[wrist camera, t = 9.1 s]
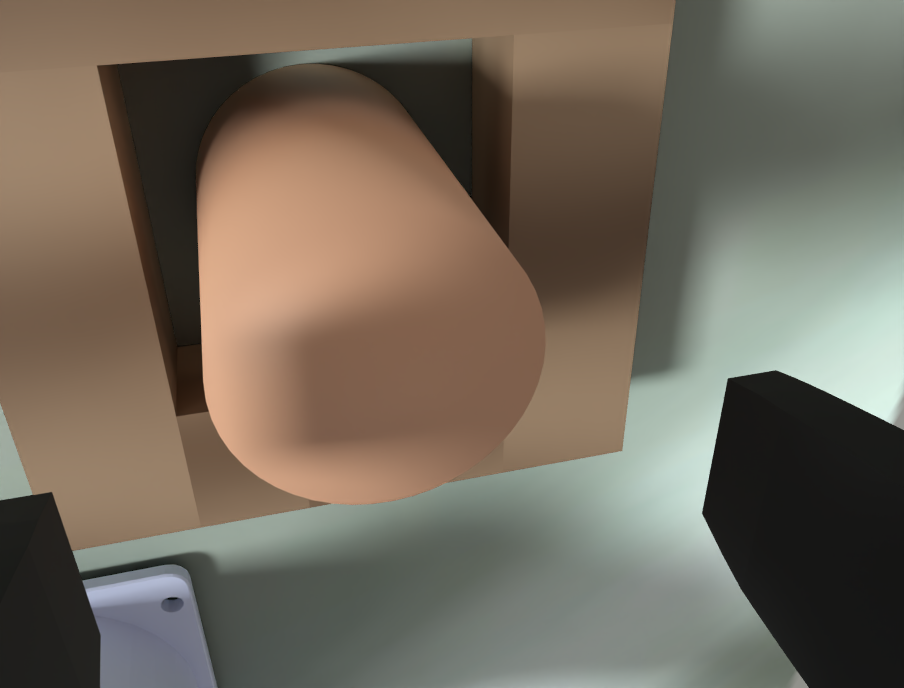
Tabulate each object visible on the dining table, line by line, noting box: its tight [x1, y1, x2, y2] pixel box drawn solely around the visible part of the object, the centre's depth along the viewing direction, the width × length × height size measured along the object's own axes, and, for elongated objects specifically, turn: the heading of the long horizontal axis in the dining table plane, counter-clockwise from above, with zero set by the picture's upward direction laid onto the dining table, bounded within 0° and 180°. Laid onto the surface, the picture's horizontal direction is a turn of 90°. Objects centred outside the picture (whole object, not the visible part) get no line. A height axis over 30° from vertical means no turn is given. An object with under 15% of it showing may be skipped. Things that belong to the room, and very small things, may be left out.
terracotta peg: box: [196, 64, 546, 505], centre depth 14 cm, size 4×4×7 cm
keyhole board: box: [0, 0, 676, 551], centre depth 16 cm, size 12×12×2 cm
